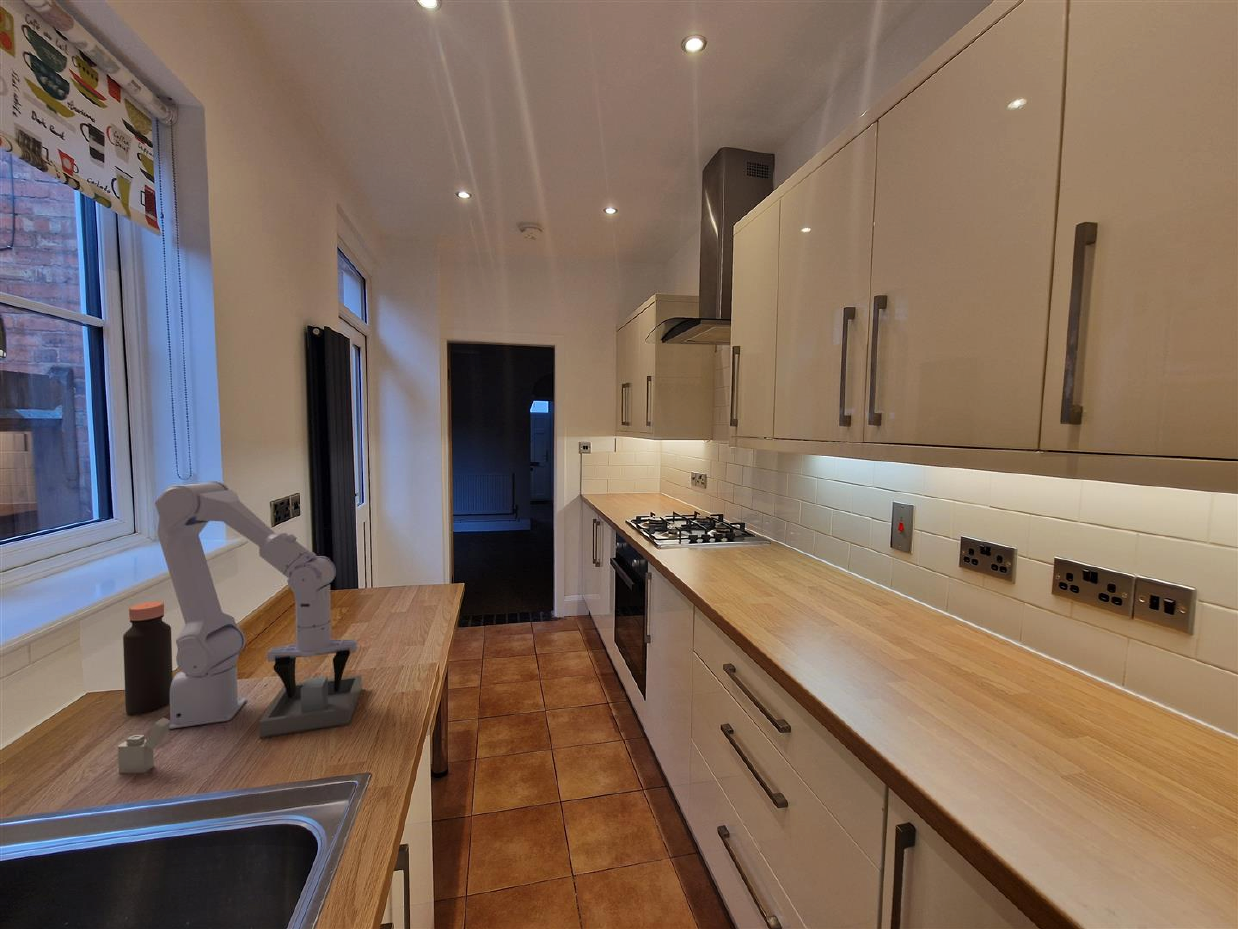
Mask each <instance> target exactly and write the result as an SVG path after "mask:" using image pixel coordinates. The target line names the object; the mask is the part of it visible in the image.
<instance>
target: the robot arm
mask: <svg viewBox="0 0 1238 929" xmlns="http://www.w3.org/2000/svg"><path fill="white" fill-rule="evenodd" d="M154 505H155V507H156V508H155V509H156V511H157V514H158V524H157V537H158V541H159V544H160V547H161V549H162V550H161V551H162V553H163V556H164V559H165V560H164V561H165V563H166V565H167V569H168V572H169V576H170V578H171V583H172V585H173V589H174V592H175V595H176V598H177V602H178V605H179V608H180V611H181V615H182V618H183V620H184V626H183V628H182V629H181V631H180V633H179V634H178V635H177V637H176V639H175V643H176V647H177V652H176V656H175V658H176V660H175V661H176V665H177V667H178V669H179V670H180V671H179V672H177V673H176V674H175V675H174V676H173V680H172V683H171V687H170V704H169V716H170V717H169V718H170V719H169V720H170V721H172V722H171V724H170V726H169V728H168V730H170V729H177V728H184V727H191V726H198V725H206V724H212V723H213V724H214V723H220V722H227V721H230V720H232V719H233V718H234V717H235V715H236V713H238V712H239V711H240V709H241V707H242V706H244V703H245V702H246V701H247V697H240V698H238V696H239V694H238V660H239V653H241V652H242V651H243V649H244V648H245V645H246V636H245V633H244V632H243V630H242V629H241V628H240V627H239V625H238V624H237V622H236V620H235V617H234V616H233V615H230V614H227V613H226V612H225V613H224V612H223V611H222V607H221V605H220V600H219V598H218V594H217V591H216V587H215V585H214V581H213V578H212V574H211V572H210V568H209V564H208V561H207V558H206V554H205V551H204V549H203V545H202V541H201V538H200V533H201V532H202V531H203V530H204V528H205V527H206V526H207V524H208V523H209V522H222V523H224V524H225V525H227V526H228V527H229V528H231V529H233V530H234V531H236V532H237V533H239V534H240V535H242V536H243V537H244V538H246V539H247V540H249V541H250V542H252V543H253V544H255V545H257V546H258V547H259V548H258V551H259V552H258V554H259V557H260V558H262V559H263V560H264V561H266V562H267V563H268V564H269V565H270V566H271V567H273V568H274V569H276V570H277V571H279V573H281V574H282V575H283V576H285V577H286V578H287V586H288V587H289V589H290V590H291V591H292V592H293V595H294V601H295V638H296V639H295V642H296V643H293V644H292V643H291V644H287V645H283V646H277V647H271V648H270V649H269V650H268V652H267V659H268V660H267V661H268V663H273V662H274V665H273V666H272V667H273V670H274V672H275V673H276V674H277V676H278V677H279V678H280V680H281V682H282V683H283V686H285V688H286V691H287V695H288V698H292V697H293V696H294V694H295V691H296V661H297V660H296V659H297V658H311V657H312V658H313V657H315V656H322V655H329V654H332V655H333V654H335V655H334V656H333V659H332V665H333V674H334V678H333V679H334V692H337V691H339V689H340V686H341V679H342V678H343V674H344V671H345V667H346V665H347V662H348V660H349V657H350V655H351V654H353V653H356V652H357V650H358V639H357V638H354V639H353V638H352V639H350V638H349V639H339V638H338V639H337V638H335V639H334V638H332V612H331V611H332V610H331V607H332V604H331V603H332V602H331V601H332V600H331V584H330V583H332V582H333V580H334V579H335V578H336V575H337V570H336V566H335V564H334V563H333V561H331V559H330V557H327V556H325V555H324V556H323V555H319V556H317V554H316V553H315V552H314V551H310V550H308V549H307V548H306V547H305V546H303V545H302V544H301V543H299V542H298V541H297V539H298V537H297V536H295V535H294V534H291V533H290V534H289V533H287V532H275V531H274V530H273V529H272V528H270V527H269V526H268V525H267V524H266V523H265V522H264V521H263V520H261V519H260V517H258V516H257V515H256V514H255V513H254V512H252V511H251V510H250V509H249V508H248V507H247V506H246V505H245V504H244V503H243V502H241V500H240V498H239V496H238V494H237V492H236V491H234V490H232V489H229V487H228V486H227V484H224V483H223V482H221V481H215V480H214V481H213V480H211V481H208V482H203V483H202V482H201V483H192V484H184V485H183V484H176V485H171V486H169V487H167V488H166V489H165V490H163V492H161V494H160V496H158V498H157V500H156V501H155V502H154Z"/></svg>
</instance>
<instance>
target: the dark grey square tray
mask: <svg viewBox="0 0 1238 929" xmlns="http://www.w3.org/2000/svg"><path fill="white" fill-rule="evenodd" d="M362 678H363V676H362V675H353V676H345V677H342V679H341V686H340V689H339V691H337V692H334V678H328V705H327V707H326V709H325V710H321V711H314V712H307V713H301V688H302V686H303V685H304V683H305V682H306V681H305V682H299V683H296V682H295V684H296V691H295V694H294V696H293V697H292V698H288V695H287V691H286V688H285V686H284V685H283V686H282V687H281V689H280V691H279V692H278V694H277V695H276V696H275V698H274V699H273V701H272V702H271V704H270V705H269V707H268V708H267V710H266V711H265V712H264V714H263V715H262V717H261V718H260V720H259V722H258V733H259V734H258V737H259V738H258V739H259V740H260V739H265V738H274V737H280V736H286V735H287V736H288V735H294V734H300V733H305V732H311V731H319V730H325V729H331V728H338V727H344V726H350V724H351V720H352V718H353V715H354V712H355V710H356V707H357V704H358V700H359V698H360V696H361V693H362V689H363V684H362V683H363V681H362Z"/></svg>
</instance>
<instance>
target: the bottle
mask: <svg viewBox="0 0 1238 929" xmlns="http://www.w3.org/2000/svg"><path fill="white" fill-rule="evenodd" d="M164 614H165V603H164V602H162V601H148V602H141V603H139V604H135V605H132V606H130V607H129V608H128V616H129V617H128V619H129V622H130V623H131V626H130V628H129V629H128V630H126V631H125V633H124V634H123V635H122V645H123V647H122V648H123V672H124V673H123V674H124V675H123V676H124V697H125V698H124V699H125V705H124V706H125V711H126V714H128V713H129V715H131V714H139V715H145V714H149V713H148V712H150V713H153V712H156V711H159V710H162V709H163V708H165V707H167V706H170V687H171V683H172V680H173V678H174V676H173V675H174V674H173V647H172V627H171V626H170V624H168V623H167V622H165V621H163V618H164V616H165V615H164ZM144 713H145V714H144Z"/></svg>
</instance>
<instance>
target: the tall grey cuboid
mask: <svg viewBox="0 0 1238 929" xmlns="http://www.w3.org/2000/svg"><path fill="white" fill-rule="evenodd" d="M328 679H329V678H328V676H320V677H319V676H318V677H311V678H306V680H305V683H304V682H303V683H304V685H303V686H302V688H301V713H307V712H314V711H321V710H325V709H326V707H327V705H328Z"/></svg>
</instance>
